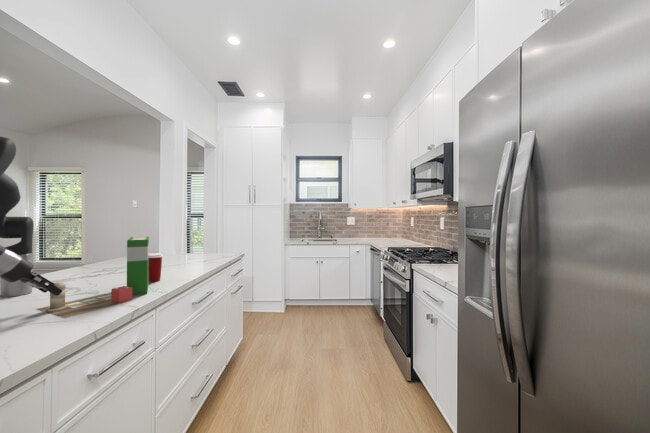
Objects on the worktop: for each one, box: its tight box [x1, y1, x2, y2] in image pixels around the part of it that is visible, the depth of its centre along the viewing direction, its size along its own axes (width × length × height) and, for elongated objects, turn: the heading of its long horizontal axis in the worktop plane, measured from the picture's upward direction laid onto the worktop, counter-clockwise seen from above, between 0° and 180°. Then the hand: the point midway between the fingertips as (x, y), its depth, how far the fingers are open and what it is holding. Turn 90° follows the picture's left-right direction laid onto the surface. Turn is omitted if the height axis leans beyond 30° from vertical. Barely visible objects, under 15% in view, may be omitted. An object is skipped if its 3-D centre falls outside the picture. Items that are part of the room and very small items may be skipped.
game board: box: [35, 293, 133, 319], centre depth 108 cm, size 20×22×1 cm
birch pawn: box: [47, 282, 68, 312], centre depth 102 cm, size 6×6×10 cm
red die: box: [110, 285, 133, 304], centre depth 113 cm, size 5×5×5 cm
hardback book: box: [126, 236, 150, 297], centre depth 129 cm, size 18×7×24 cm, turn 31°
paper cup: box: [148, 252, 164, 283], centre depth 147 cm, size 8×8×14 cm
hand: (53, 291), depth 101 cm, fingers open, 8 cm apart
